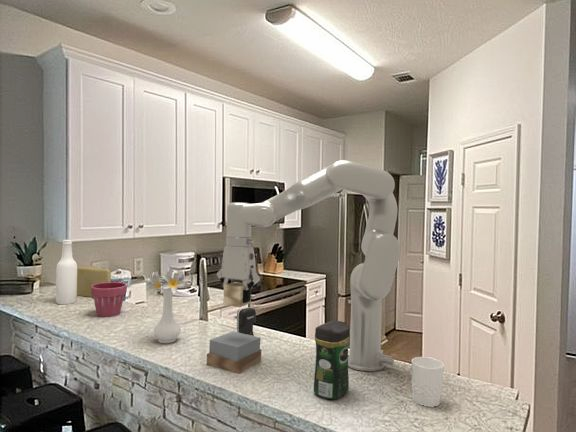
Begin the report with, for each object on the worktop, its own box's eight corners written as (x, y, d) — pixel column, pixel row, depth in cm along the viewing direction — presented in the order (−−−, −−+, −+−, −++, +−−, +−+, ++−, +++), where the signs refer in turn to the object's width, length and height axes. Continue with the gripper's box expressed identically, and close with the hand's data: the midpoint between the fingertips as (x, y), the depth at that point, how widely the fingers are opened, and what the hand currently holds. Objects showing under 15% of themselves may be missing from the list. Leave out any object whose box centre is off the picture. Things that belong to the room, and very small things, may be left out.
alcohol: (51, 303, 193) (52, 240, 192) (67, 299, 201) (68, 238, 200) (64, 305, 190) (65, 241, 189) (80, 302, 198) (81, 240, 197)
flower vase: (161, 331, 156) (162, 265, 155) (197, 340, 146) (198, 270, 146) (132, 340, 145) (133, 269, 144) (169, 351, 135) (171, 275, 135)
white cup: (435, 394, 109) (436, 357, 109) (447, 408, 101) (449, 368, 101) (406, 393, 109) (407, 356, 108) (416, 408, 101) (417, 368, 100)
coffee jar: (327, 382, 114) (329, 316, 114) (352, 390, 110) (354, 321, 109) (308, 394, 107) (310, 323, 106) (334, 403, 102) (336, 329, 101)
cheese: (118, 298, 207) (118, 269, 207) (100, 302, 199) (100, 271, 199) (93, 292, 219) (93, 264, 219) (75, 295, 211) (75, 266, 211)
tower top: (259, 350, 128) (260, 337, 128) (237, 361, 119) (237, 347, 119) (232, 343, 134) (233, 331, 134) (209, 352, 125) (209, 339, 125)
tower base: (260, 361, 129) (261, 349, 129) (239, 375, 119) (239, 361, 119) (229, 354, 135) (230, 342, 135) (206, 366, 124) (206, 353, 124)
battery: (242, 343, 145) (243, 311, 145) (235, 340, 147) (236, 309, 147) (257, 338, 150) (257, 307, 150) (249, 336, 153) (250, 306, 152)
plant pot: (114, 319, 169) (114, 289, 169) (83, 317, 172) (83, 287, 171) (132, 311, 184) (133, 282, 183) (103, 309, 186) (104, 281, 185)
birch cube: (250, 303, 128) (251, 284, 128) (239, 307, 122) (240, 287, 122) (234, 300, 130) (235, 282, 130) (223, 304, 125) (223, 285, 125)
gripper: (269, 243, 125) (267, 302, 126) (223, 240, 133) (221, 295, 134) (256, 245, 119) (254, 307, 119) (208, 241, 127) (207, 299, 127)
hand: (237, 300), depth 126 cm, fingers closed on birch cube, 6 cm apart
